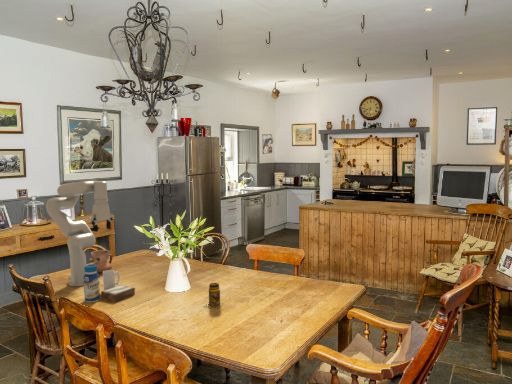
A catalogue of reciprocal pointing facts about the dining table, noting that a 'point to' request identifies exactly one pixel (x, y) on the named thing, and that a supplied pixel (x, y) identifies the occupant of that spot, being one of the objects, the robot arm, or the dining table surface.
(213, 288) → the condiment
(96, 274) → the beverage bottle
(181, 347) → the dining table surface
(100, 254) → the ceramic jug
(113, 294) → the walnut picture frame
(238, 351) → the dining table surface
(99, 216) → the robot arm
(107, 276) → the mug
